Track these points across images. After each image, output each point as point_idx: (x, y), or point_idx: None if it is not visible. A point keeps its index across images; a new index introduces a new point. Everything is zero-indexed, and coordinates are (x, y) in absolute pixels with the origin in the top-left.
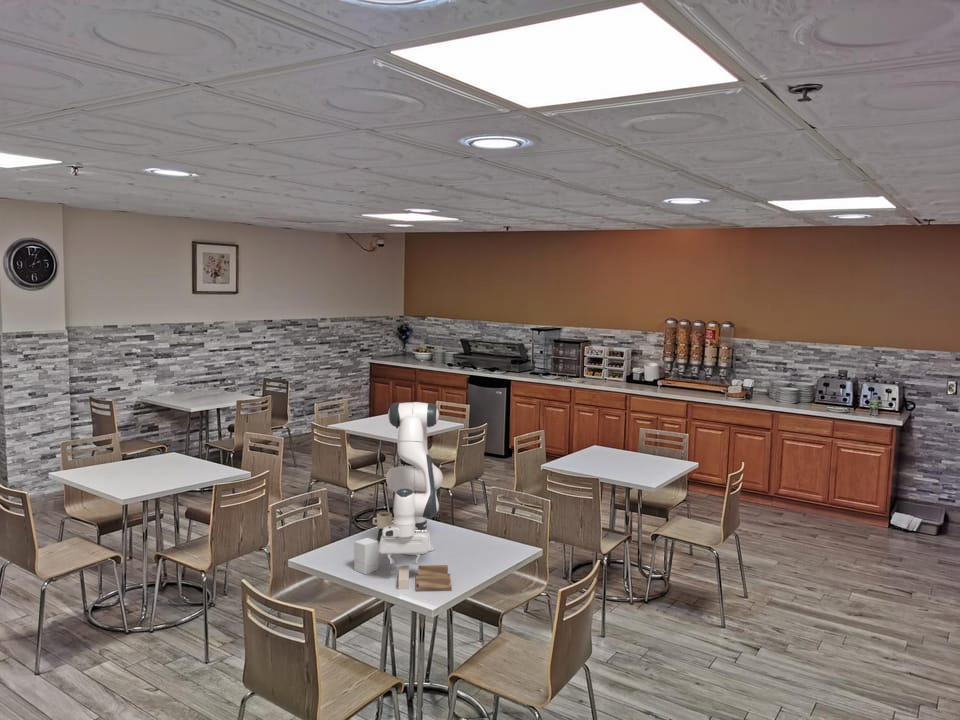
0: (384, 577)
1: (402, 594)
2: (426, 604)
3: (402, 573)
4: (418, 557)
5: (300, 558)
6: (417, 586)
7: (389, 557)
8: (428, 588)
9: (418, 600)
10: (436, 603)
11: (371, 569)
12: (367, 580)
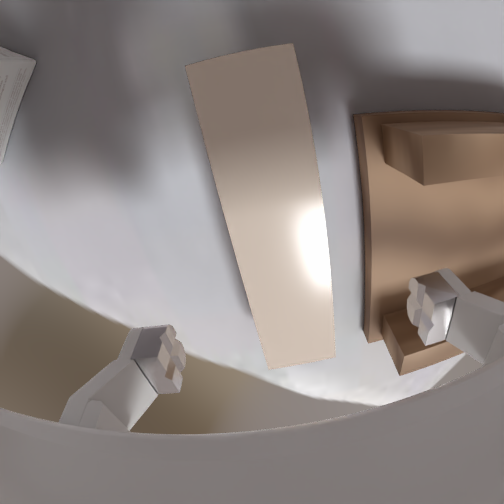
0: (112, 167)
1: (298, 368)
2: (390, 401)
3: (272, 264)
4: (482, 350)
5: None
6: (377, 322)
7: (127, 422)
8: None
9: (367, 390)
10: (422, 387)
11: (4, 118)
12: (48, 240)
